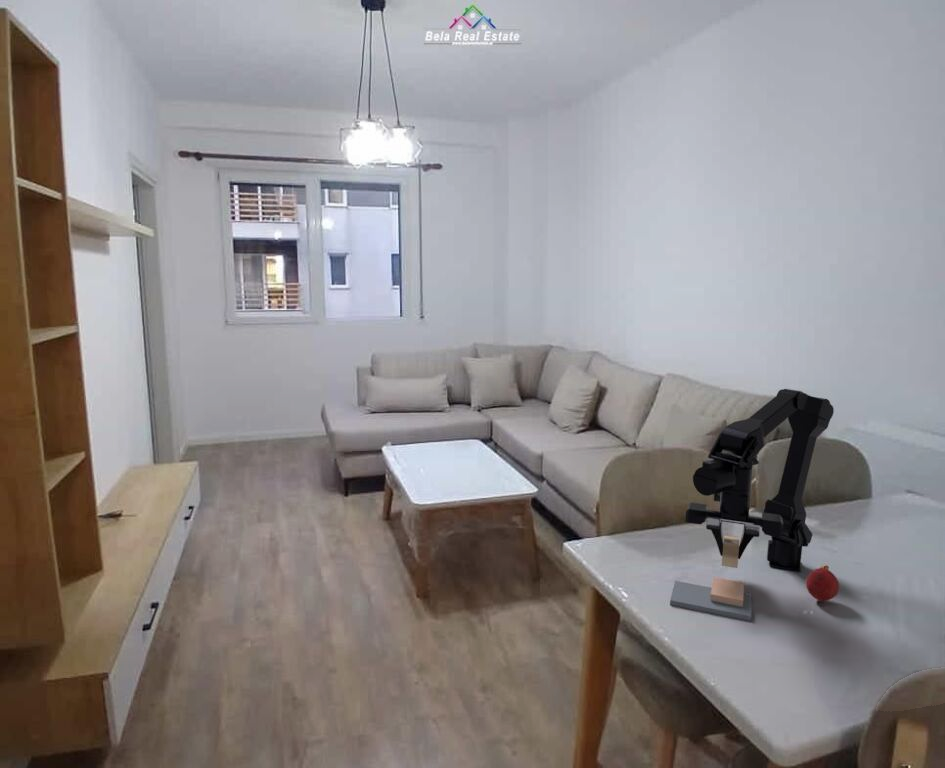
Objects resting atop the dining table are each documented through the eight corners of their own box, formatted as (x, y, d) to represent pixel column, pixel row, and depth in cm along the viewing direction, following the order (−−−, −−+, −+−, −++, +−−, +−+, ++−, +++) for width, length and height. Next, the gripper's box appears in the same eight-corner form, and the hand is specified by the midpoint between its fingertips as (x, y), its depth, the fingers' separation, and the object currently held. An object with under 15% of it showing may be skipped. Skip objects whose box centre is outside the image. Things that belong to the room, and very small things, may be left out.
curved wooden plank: (737, 568, 128) (739, 546, 128) (721, 565, 129) (723, 543, 129) (737, 557, 139) (739, 536, 139) (723, 554, 140) (724, 534, 140)
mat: (751, 599, 129) (751, 595, 129) (750, 621, 121) (751, 616, 121) (675, 585, 135) (675, 580, 135) (670, 604, 127) (670, 600, 127)
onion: (825, 611, 124) (829, 574, 123) (798, 598, 129) (801, 562, 128) (843, 604, 127) (847, 567, 126) (816, 592, 132) (820, 556, 131)
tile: (744, 582, 131) (743, 600, 123) (743, 589, 131) (742, 608, 124) (713, 577, 133) (710, 594, 126) (712, 584, 133) (710, 601, 126)
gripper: (783, 481, 134) (777, 549, 137) (692, 470, 142) (687, 535, 144) (786, 497, 124) (779, 571, 127) (687, 485, 132) (682, 554, 134)
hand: (730, 556), depth 134 cm, fingers closed on curved wooden plank, 3 cm apart
